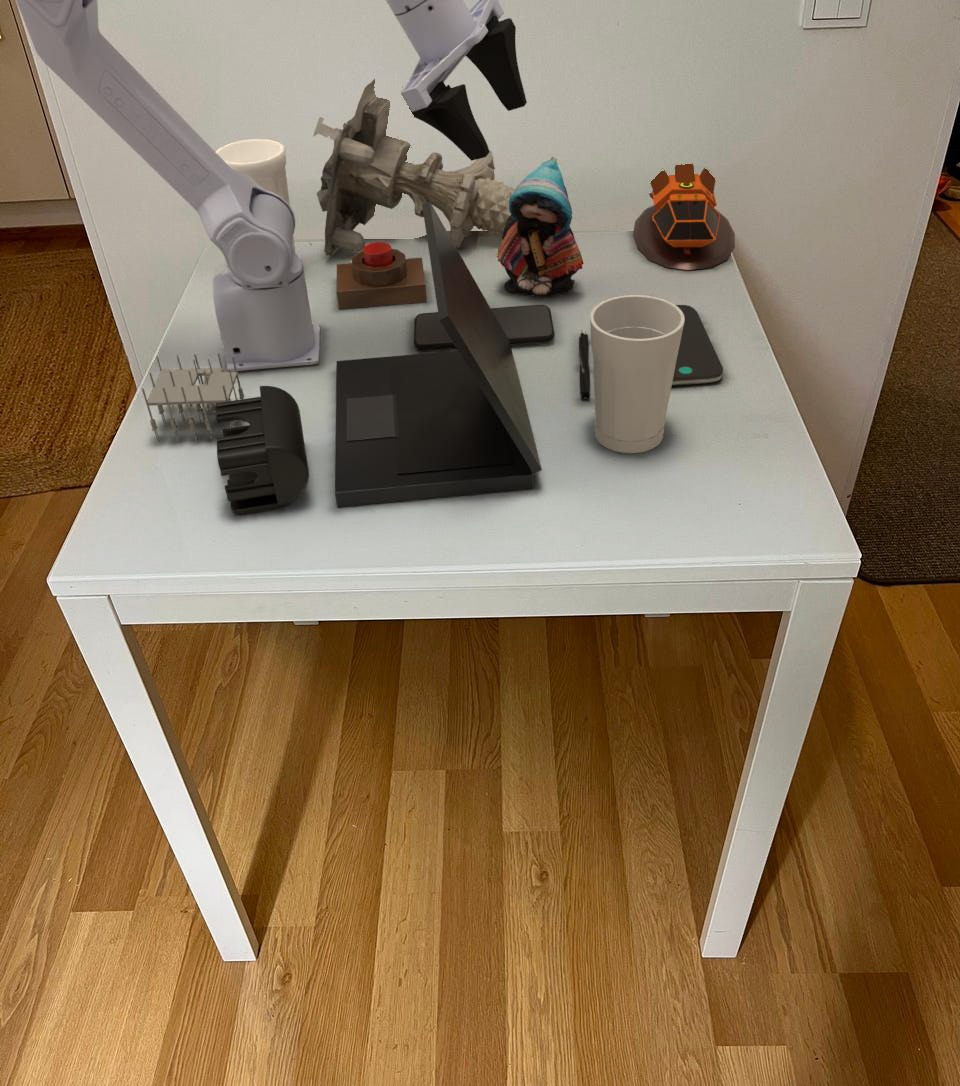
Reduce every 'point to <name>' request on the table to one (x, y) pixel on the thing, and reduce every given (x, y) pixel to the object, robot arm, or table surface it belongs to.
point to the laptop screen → (478, 336)
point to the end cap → (262, 451)
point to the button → (378, 254)
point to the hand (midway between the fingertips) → (499, 131)
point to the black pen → (584, 365)
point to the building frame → (191, 392)
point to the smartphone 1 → (514, 321)
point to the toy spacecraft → (684, 222)
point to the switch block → (380, 282)
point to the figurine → (540, 236)
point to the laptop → (419, 432)
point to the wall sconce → (399, 181)
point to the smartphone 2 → (695, 353)
